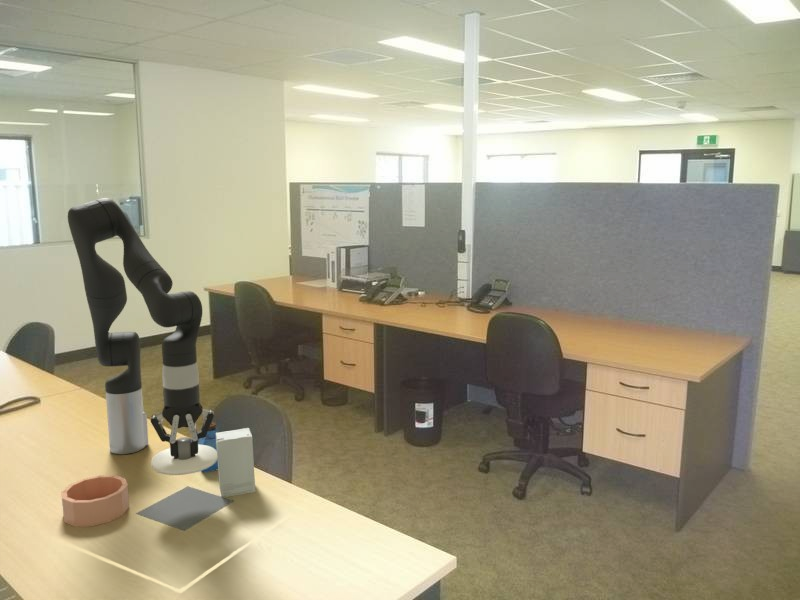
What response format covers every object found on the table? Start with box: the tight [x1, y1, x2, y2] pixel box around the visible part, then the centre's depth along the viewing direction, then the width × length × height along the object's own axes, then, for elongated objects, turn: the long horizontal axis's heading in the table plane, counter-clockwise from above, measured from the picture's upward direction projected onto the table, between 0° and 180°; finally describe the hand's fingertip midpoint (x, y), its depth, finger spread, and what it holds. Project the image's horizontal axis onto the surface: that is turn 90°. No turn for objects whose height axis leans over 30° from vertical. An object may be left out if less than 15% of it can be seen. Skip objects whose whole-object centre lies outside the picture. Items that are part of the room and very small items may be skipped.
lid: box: [151, 436, 218, 476], centre depth 140 cm, size 14×14×6 cm
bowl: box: [60, 474, 130, 527], centre depth 139 cm, size 13×13×6 cm
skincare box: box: [216, 427, 256, 498], centre depth 149 cm, size 8×6×15 cm
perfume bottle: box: [198, 421, 218, 474], centre depth 163 cm, size 6×6×12 cm
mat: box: [135, 485, 235, 532], centre depth 142 cm, size 15×15×1 cm
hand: (184, 455), depth 140 cm, fingers closed on lid, 3 cm apart
